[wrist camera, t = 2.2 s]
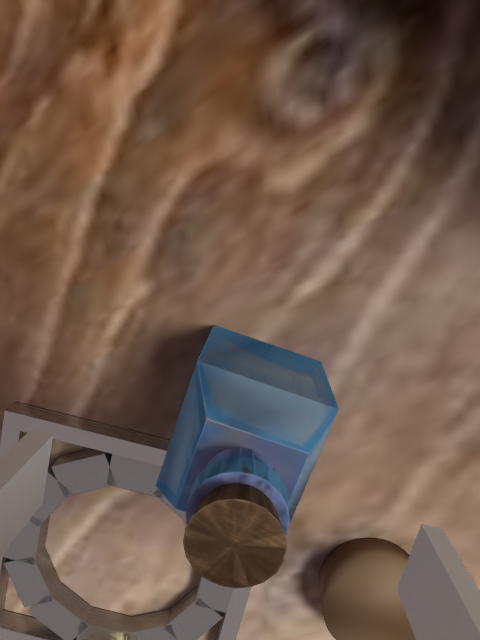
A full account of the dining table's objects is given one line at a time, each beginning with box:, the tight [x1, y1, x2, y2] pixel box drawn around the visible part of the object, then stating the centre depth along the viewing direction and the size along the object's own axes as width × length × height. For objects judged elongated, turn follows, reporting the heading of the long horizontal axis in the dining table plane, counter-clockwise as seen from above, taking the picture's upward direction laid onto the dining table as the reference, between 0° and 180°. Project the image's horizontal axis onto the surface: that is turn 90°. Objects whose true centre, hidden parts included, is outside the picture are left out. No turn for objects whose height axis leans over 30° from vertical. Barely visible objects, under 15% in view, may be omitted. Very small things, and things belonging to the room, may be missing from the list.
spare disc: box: [319, 538, 416, 640], centre depth 27 cm, size 6×6×2 cm
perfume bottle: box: [156, 325, 338, 588], centre depth 20 cm, size 6×6×12 cm
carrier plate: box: [0, 402, 251, 640], centre depth 27 cm, size 20×16×4 cm
